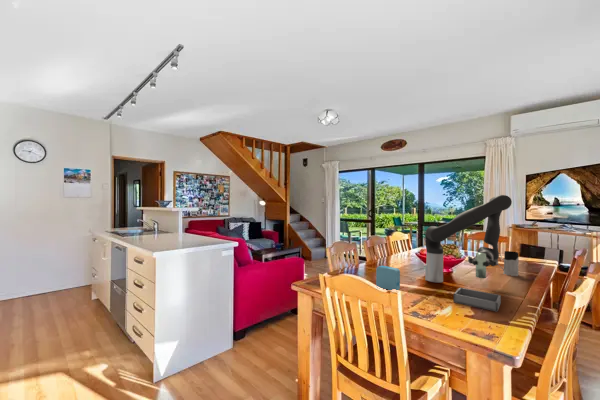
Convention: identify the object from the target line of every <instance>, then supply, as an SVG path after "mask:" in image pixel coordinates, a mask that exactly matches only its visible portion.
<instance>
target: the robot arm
mask: <svg viewBox="0 0 600 400" xmlns="http://www.w3.org/2000/svg"><path fill="white" fill-rule="evenodd" d="M511 206H512V198H511V197H510V196H508V195H506V194H499V195H495V196H493V197H492V198H490V199H489V201H488V202H486V203H484V204H480V205H478V206H474V207H472V208H469V209H468V210H465V211H463V212H461V213H459V214H457V215H456V216H455V217H454V218H452V220H450V221H449V222H447V223H445V224H441V225H440V226H435V225H431V226H429V227H428V228H426V230H425V234H424V235H425V237H424V238H425V239H424V241H425V248H426V263H425V264H424V265H425V268H424V269H425V272H424V273H425V275H424V279H425V280H424V281H428V282H429V283H443V282H444V248H443V247H442V244H441V243H442V242H443V241H445V240H446V239H448V238H450V237H452V236H454V234H456V233H460V232H461V231H463V230H466V229H468V228H470V227H472V226H475V225H476V224H478V223H481V222H482V221H484V220H485V219H486V218H487V223H486V229H485V233H484V237H483V242H484V243H485V244H488V245H489V246H491V247H492V248H490V247H486V246H480V247H479V248H478V249H477V253H486V262H485V267H486V268H487V267H490V266H491V267H495V266H499V260H498V259H499V257H500V254H499V253H500V252H499V239H500V235H501V225H500V217H501V213H502V211H506V210H508V209H509V208H510V207H511ZM467 262H468V263H469V264H472V265H473V266H476V256H474V257H472V256H467Z"/></svg>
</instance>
